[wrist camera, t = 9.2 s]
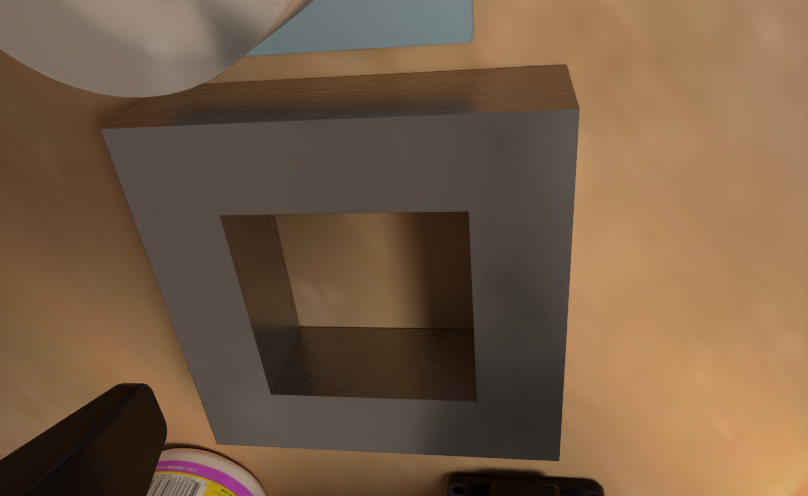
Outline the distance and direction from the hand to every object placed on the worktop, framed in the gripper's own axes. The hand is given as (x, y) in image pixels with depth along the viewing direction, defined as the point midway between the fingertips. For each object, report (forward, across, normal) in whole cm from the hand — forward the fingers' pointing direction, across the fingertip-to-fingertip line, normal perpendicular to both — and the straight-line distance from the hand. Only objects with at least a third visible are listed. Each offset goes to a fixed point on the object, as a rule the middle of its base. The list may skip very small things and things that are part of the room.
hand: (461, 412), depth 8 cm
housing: (+12, +4, +4) cm, 13 cm away
